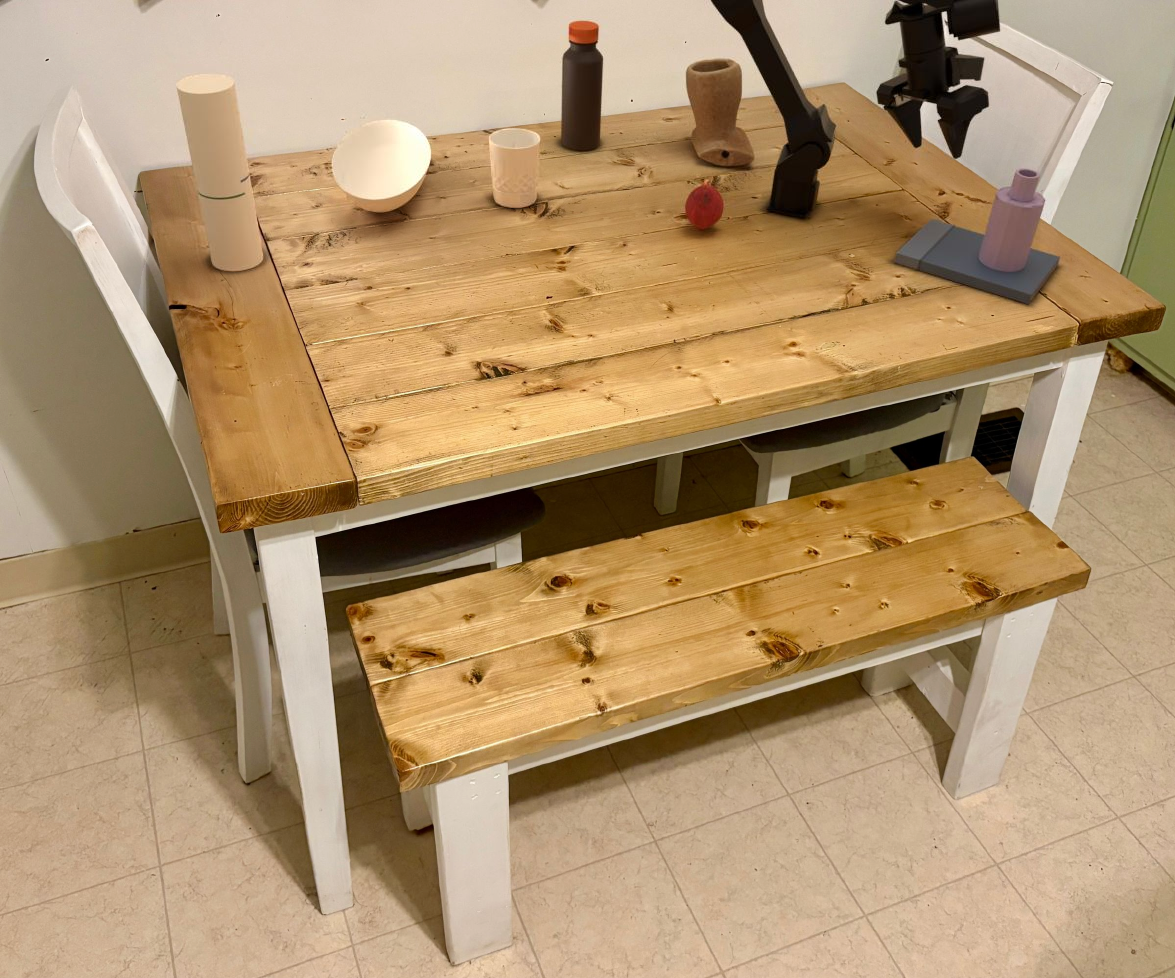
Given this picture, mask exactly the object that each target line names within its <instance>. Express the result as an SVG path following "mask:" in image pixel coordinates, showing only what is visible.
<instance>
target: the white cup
mask: <svg viewBox="0 0 1175 978" xmlns="http://www.w3.org/2000/svg"><path fill="white" fill-rule="evenodd" d="M488 145H489V147H488V148H489V160H490V172H491V173H490V174H491V183H492V192H493V199H494V201H495V203H496V204H497V205H499V206H502V207H505V208H510V209H521V208H525V207H529V206H531V205H533V204H535V203H536V201H537V198H538V197H537V196H538V183H539V173H540V158H541V157H540V156H541V136H540V134H538V133H537V132H535V131H533V130H530V129H527V128H519V127H518V128H517V127H516V128H515V127H510V128H503V129H502V128H501V129H498V130H496V131H495V130H494V131H493V132H491V134H489V136H488Z"/></svg>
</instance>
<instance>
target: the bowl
mask: <svg viewBox="0 0 1175 978" xmlns="http://www.w3.org/2000/svg"><path fill="white" fill-rule="evenodd" d="M431 159H432V150H431V145H430V142H429V140H428V138H427V137H426V135H425V134H424V133H423V132H422V131H421V129H419V128H417V126H415V125H413V124H410V123H408V122H405V121H403V120H402V121H401V120H396V119H380V120H374V121H371V122H368V123H364V124H363V125H360V126H358V127H356V128H355V129H353V130H352V131H350V132H349V133H348V134H347V135H345V136H344V138H343V139H341V141H340V142H339V143H338V145H337V147H336V148H335V150H334V152H333V156H332V160H331V171H332V176H333V178H334V180H335V183H336V184H337V185H338V187H339V189H340V191H341V192H342V193H343V194H344V196H345V197H346V198H347V199H348V200H349V201H350V202H351V203H352V204H354V205H355V206H356V207H358V208H360V209H362V210H365V211H369V212H373V213H388V212H392V211H394V210H396V209H399V208H400V207H402V206H404V205H405V204H407V203H408V202H409V201H410V200H411V199H412V198H413V197H414V196H415V195H417V192H418V191H419V190H420V188H421V186H422V184H423V182H424V180H425V178H426V176H427V173H428V170H429V167H430V164H431Z"/></svg>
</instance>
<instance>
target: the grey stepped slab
mask: <svg viewBox="0 0 1175 978" xmlns="http://www.w3.org/2000/svg"><path fill="white" fill-rule="evenodd" d="M984 235H985V233H980V232H977V231H974V230H971V229H967V228H963V227H960V226H956V225H955V224H951V223H948V222H945V221H941V220H938V219H934V218H930V220H928V221H927V222H926V223H925V224H924V225H923V226H922V227H921V228H920V229H919V230H918V231H917V232H916V233H915V234H914V235H913V236H912V237H911V238H910V239H909V240H908V241H907V242H906V243H905V244H904V245H903V246H902V247H901V248H900V249H899V250H898V251H897V252H896V253H895V258H894V263H895V264H897V265H900V266H903V267H907V268H911V269H913V270H915V271H916V270H917V271H920V272H923V273H927V274H930V275H933V276H935V277H939V278H943V279H946V280H949V281H952V282H955V283H959V284H961V285H965V286H968V287H971V288H975V289H977V290H980V291H984V292H988V293H990V294H994V295H997V296H1000V297H1003V298H1007V299H1009V300H1013V301H1016V302H1019V303H1022V304H1026V305H1030V303H1031V302H1032V300H1033V299H1034V297H1035V296H1036V295H1037V294H1038V292H1039V291H1040V290H1041V288H1042V287H1043V286H1044V284H1045V283H1046V282H1047V281H1048V279H1049V278H1050V276H1051V275H1052V274H1053V273H1054V271H1055V270H1056V269H1057V267H1058V265H1059V262H1060V259H1061V256H1059V255H1056V254H1052V253H1049V252H1044V251H1042V250H1038V249H1035V248H1032V247H1031V249H1030V252H1029V255H1028V258H1027V261H1026V264H1025V267H1024V268H1023V269H1022V270H1019V271H1015V272H1004V271H998V270H994V269H991V268H989V267H987V266H985V265H984V264H982V263H981V262H980V260H979V253H980V249H981V246H982V242H983V239H984Z"/></svg>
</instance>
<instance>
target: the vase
mask: <svg viewBox="0 0 1175 978" xmlns="http://www.w3.org/2000/svg"><path fill="white" fill-rule="evenodd" d="M1040 177H1041V174H1040V172H1038V171H1037V170H1034V169H1031V168H1017V169H1016V170H1015V172H1014V175H1013V178H1012V182H1011V186H1006V187H1002V188H999V189H998V190H996V192H995V193H996V194H995V197H994V201H993V204H992V208H991V211H990V214H989V217H988V222H987V225H986V228H985V233H984V239H983V242H982V246H981V249H980V253H979V260H980V262H981V263H982V264H984V265H985V266H987V267H989V268H991V269H994V270H998V271H1004V272H1015V271H1019V270H1022V269H1023V268H1024V267H1025V264H1026V261H1027V258H1028V255H1029V252H1030V249H1031V248H1032V246H1033V243H1034V239H1035V236H1036V232H1037V229H1038V227H1039V224H1040V221H1041V220H1040V219H1041V217H1042V213H1043V210H1044V207H1045V203H1046V198H1045V197H1044V196H1043V195H1042V194H1040V193H1039V192H1037V186H1038V183H1039V180H1040Z"/></svg>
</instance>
